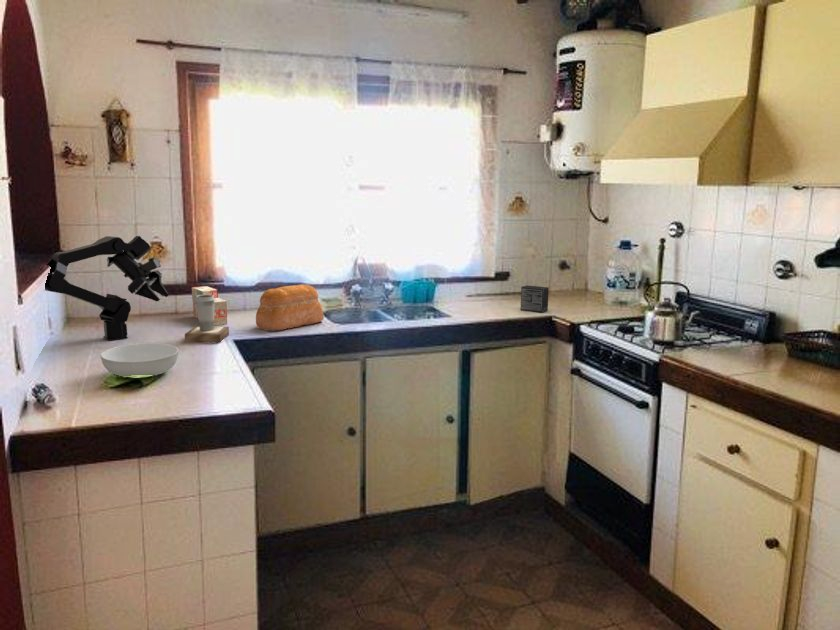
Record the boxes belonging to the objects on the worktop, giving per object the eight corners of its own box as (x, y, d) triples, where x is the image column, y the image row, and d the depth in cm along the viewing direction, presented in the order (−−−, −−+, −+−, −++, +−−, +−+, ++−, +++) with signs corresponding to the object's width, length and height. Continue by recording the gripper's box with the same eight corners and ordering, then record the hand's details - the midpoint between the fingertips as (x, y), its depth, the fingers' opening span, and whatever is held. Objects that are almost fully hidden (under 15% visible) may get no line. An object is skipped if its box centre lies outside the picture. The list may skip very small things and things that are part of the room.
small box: (548, 310, 302) (549, 286, 300) (542, 313, 297) (543, 288, 295) (525, 308, 308) (526, 284, 305) (519, 310, 302) (520, 286, 300)
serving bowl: (97, 387, 189) (95, 363, 188) (107, 367, 209) (106, 345, 208) (178, 382, 195) (176, 358, 194) (181, 362, 215) (179, 341, 213)
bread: (327, 322, 274) (327, 284, 271) (274, 333, 255) (272, 292, 252) (305, 317, 283) (304, 280, 280) (251, 327, 264) (250, 288, 261)
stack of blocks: (228, 324, 269) (226, 293, 266) (212, 326, 265) (210, 294, 263) (208, 315, 286) (206, 285, 283) (193, 316, 282) (191, 286, 279)
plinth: (185, 342, 239) (184, 333, 239) (195, 334, 251) (195, 325, 251) (220, 342, 240) (219, 333, 239) (229, 334, 251) (228, 326, 251)
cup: (192, 329, 245) (190, 295, 242) (209, 326, 250) (207, 293, 247) (203, 332, 240) (202, 298, 238) (220, 329, 245) (219, 296, 243)
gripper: (134, 253, 234) (169, 286, 236) (154, 247, 252) (186, 278, 254) (112, 277, 235) (148, 309, 237) (133, 269, 253) (166, 299, 256)
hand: (163, 298), depth 246 cm, fingers open, 9 cm apart
